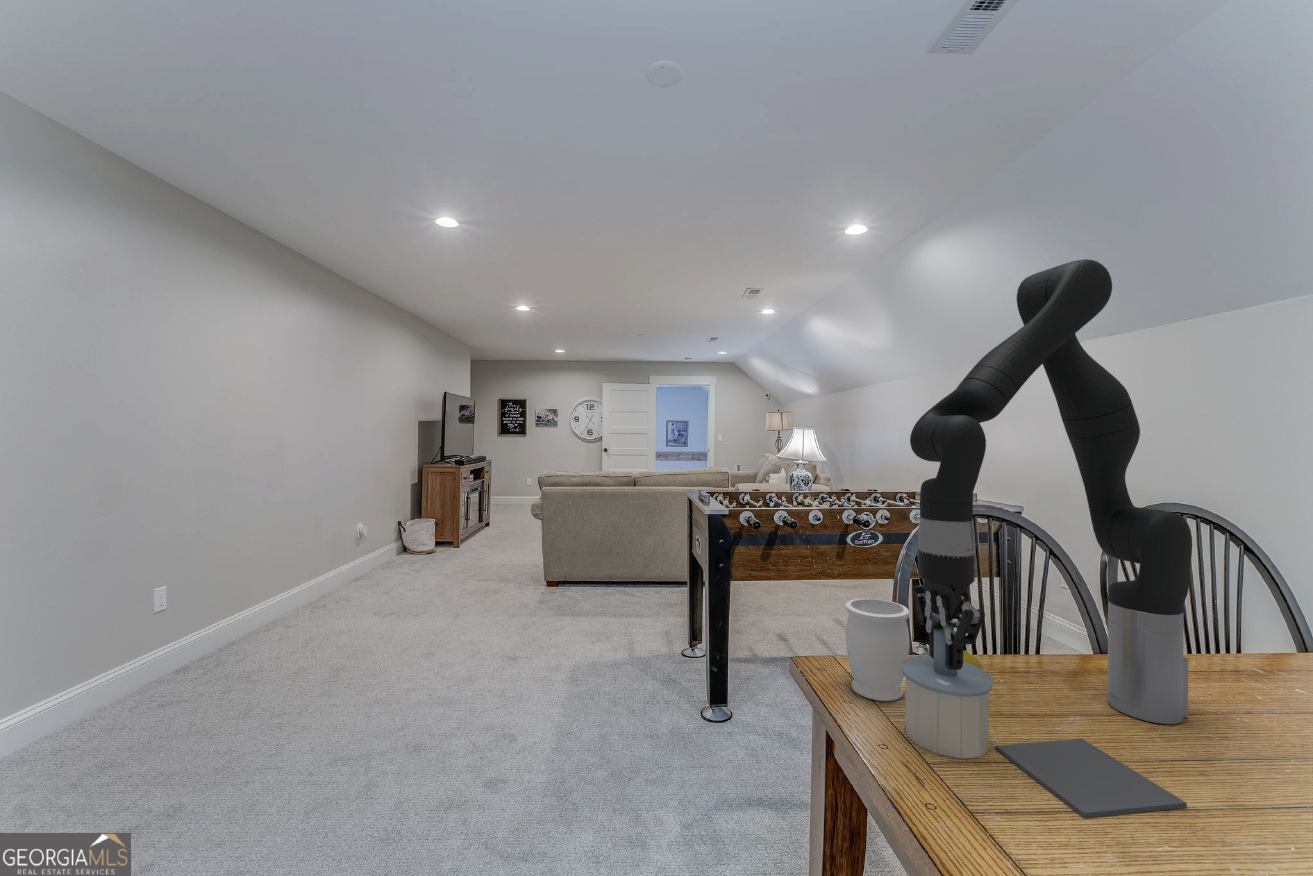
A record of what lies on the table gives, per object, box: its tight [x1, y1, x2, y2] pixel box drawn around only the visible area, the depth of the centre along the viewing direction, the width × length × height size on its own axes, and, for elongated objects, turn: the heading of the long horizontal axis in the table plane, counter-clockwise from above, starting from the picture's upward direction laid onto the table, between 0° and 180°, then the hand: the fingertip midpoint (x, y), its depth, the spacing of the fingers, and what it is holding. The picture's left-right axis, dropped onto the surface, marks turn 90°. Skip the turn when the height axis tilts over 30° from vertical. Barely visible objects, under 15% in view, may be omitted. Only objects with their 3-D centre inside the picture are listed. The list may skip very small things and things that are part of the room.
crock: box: [904, 677, 990, 760], centre depth 81 cm, size 11×11×9 cm
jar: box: [845, 598, 910, 702], centre depth 96 cm, size 11×10×15 cm
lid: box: [902, 628, 994, 696], centre depth 81 cm, size 12×12×7 cm
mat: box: [995, 738, 1188, 819], centre depth 72 cm, size 14×14×1 cm
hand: (945, 662), depth 81 cm, fingers closed on lid, 3 cm apart
